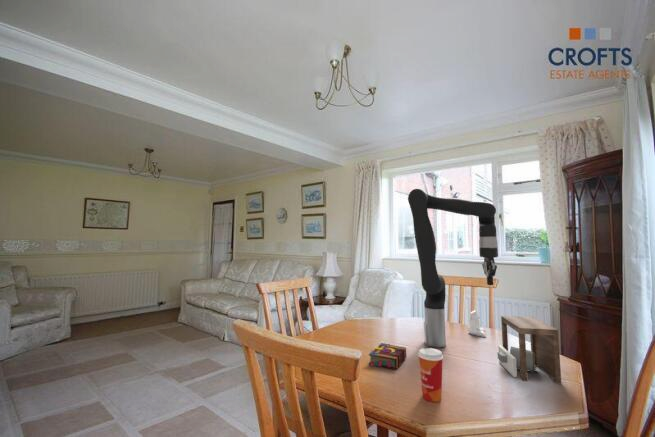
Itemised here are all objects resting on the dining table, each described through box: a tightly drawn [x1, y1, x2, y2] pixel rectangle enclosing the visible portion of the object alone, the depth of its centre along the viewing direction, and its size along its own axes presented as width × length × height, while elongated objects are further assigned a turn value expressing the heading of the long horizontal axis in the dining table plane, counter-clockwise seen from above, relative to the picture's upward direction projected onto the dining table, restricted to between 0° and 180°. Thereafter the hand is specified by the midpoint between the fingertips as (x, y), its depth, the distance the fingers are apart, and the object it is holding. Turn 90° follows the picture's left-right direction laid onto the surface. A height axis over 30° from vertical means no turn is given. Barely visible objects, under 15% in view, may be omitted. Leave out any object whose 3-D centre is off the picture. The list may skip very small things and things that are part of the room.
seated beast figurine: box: [467, 310, 487, 338], centre depth 160 cm, size 10×9×12 cm
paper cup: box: [417, 347, 444, 403], centre depth 95 cm, size 8×8×14 cm
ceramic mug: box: [509, 345, 536, 372], centre depth 117 cm, size 11×8×8 cm
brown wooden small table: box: [500, 315, 562, 384], centre depth 114 cm, size 12×18×18 cm, turn 169°
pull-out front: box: [497, 344, 518, 378], centre depth 115 cm, size 3×14×6 cm, turn 169°
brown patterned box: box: [368, 342, 407, 370], centre depth 124 cm, size 11×16×5 cm
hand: (490, 284), depth 137 cm, fingers closed
